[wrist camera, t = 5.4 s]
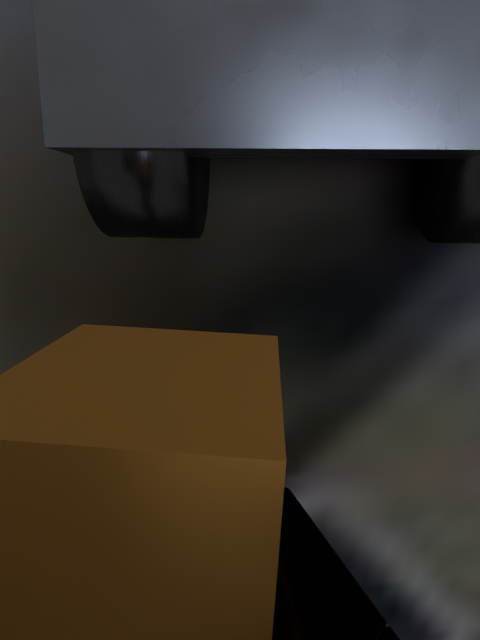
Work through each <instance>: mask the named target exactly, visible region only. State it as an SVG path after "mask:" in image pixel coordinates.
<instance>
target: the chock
mask: <svg viewBox="0 0 480 640" xmlns="http://www.w3.org/2000/svg"><path fill="white" fill-rule="evenodd" d="M285 471H286V450H285V436H284V422H283V408H282V393H281V379H280V365H279V351H278V337H277V336H270V335H254V334H238V333H221V332H205V331H189V330H172V329H156V328H140V327H123V326H107V325H90V324H82V325H80V326H79V327H77V328H76V329H74V330H72V331H71V332H69V333H67V334H66V335H64V336H62V337H61V338H59V339H58V340H56V341H54V342H53V343H51V344H49V345H48V346H46V347H45V348H43V349H41V350H40V351H38V352H36V353H35V354H33V355H31V356H30V357H28V358H27V359H25V360H23V361H22V362H20V363H18V364H17V365H15V366H14V367H12V368H10V369H9V370H7V371H5V372H4V373H2V374H1V375H0V640H272V632H273V620H274V608H275V595H276V583H277V571H278V558H279V546H280V533H281V521H282V509H283V496H284V484H285Z"/></svg>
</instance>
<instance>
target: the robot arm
mask: <svg viewBox="0 0 480 640" xmlns="http://www.w3.org/2000/svg"><path fill="white" fill-rule="evenodd" d="M272 640H400V638H399V637H398V636H397V634H396V633H395V632H394V630H393V629H392V628H391V627H390V626H388V623H387V621H386V620H385V618H384V617H383V616H382V614H381V613H380V611H379V610H378V609H377V607H376V606H375V605H374V603H373V602H372V601H371V599H370V598H369V597H368V595H367V594H366V592H365V591H364V590H363V588H362V587H361V586H360V584H359V583H358V582H357V580H356V579H355V578H354V576H353V575H352V573H351V572H350V571H349V569H348V568H347V567H346V565H345V564H344V563H343V561H342V560H341V559H340V557H339V556H338V554H337V553H336V552H335V550H334V549H333V548H332V546H331V545H330V544H329V542H328V541H327V540H326V538H325V537H324V535H323V534H322V533H321V531H320V530H319V529H318V527H317V526H316V525H315V523H314V522H313V521H312V519H311V518H310V516H309V515H308V514H307V512H306V511H305V510H304V508H303V507H302V506H301V504H300V503H299V502H298V500H297V499H296V497H295V496H294V495H293V493H292V492H291V491H290V489H288V488H285V487H284V496H283V509H282V521H281V533H280V546H279V558H278V571H277V583H276V595H275V608H274V620H273V632H272Z"/></svg>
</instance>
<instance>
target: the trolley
mask: <svg viewBox="0 0 480 640" xmlns="http://www.w3.org/2000/svg"><path fill="white" fill-rule="evenodd" d="M32 10H33V21H34V32H35V44H36V55H37V66H38V77H39V88H40V99H41V111H42V122H43V133H44V144H45V147H46V148H49V149H52V150H56V151H59V152H63V153H66V154H70V155H73V157H74V163H75V168H76V173H77V177H78V181H79V185H80V189H81V192H82V195H83V198H84V201H85V203H86V206H87V208H88V211H89V213H90V215H91V217H92V219H93V220H94V222H95V223H96V225H97V226H98V228H99V229H100V230H101V231H102V232H103V233H104V234H106V235H107V236H110V237H145V238H200V237H201V235H202V233H203V230H204V226H205V221H206V215H207V206H208V194H209V169H210V158H344V159H414V160H413V174H412V196H413V207H414V213H415V218H416V222H417V225H418V228H419V230H420V232H421V234H422V235H423V236H424V238H425V239H426V240H428V241H430V242H432V243H480V0H32Z"/></svg>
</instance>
